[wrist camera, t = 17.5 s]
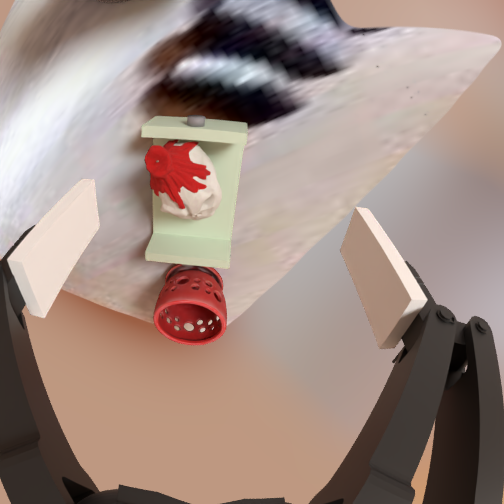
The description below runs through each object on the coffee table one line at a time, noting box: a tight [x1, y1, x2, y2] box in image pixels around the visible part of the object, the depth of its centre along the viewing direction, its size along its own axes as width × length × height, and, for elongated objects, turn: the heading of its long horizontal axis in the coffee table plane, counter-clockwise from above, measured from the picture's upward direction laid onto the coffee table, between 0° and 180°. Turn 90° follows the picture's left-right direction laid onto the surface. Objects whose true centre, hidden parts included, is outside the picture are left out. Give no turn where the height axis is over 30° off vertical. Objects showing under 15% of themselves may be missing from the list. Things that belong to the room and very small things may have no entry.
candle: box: [145, 139, 222, 220], centre depth 40 cm, size 9×11×15 cm
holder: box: [141, 115, 248, 269], centre depth 45 cm, size 25×14×7 cm, turn 172°
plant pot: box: [153, 264, 227, 345], centre depth 55 cm, size 13×13×12 cm
